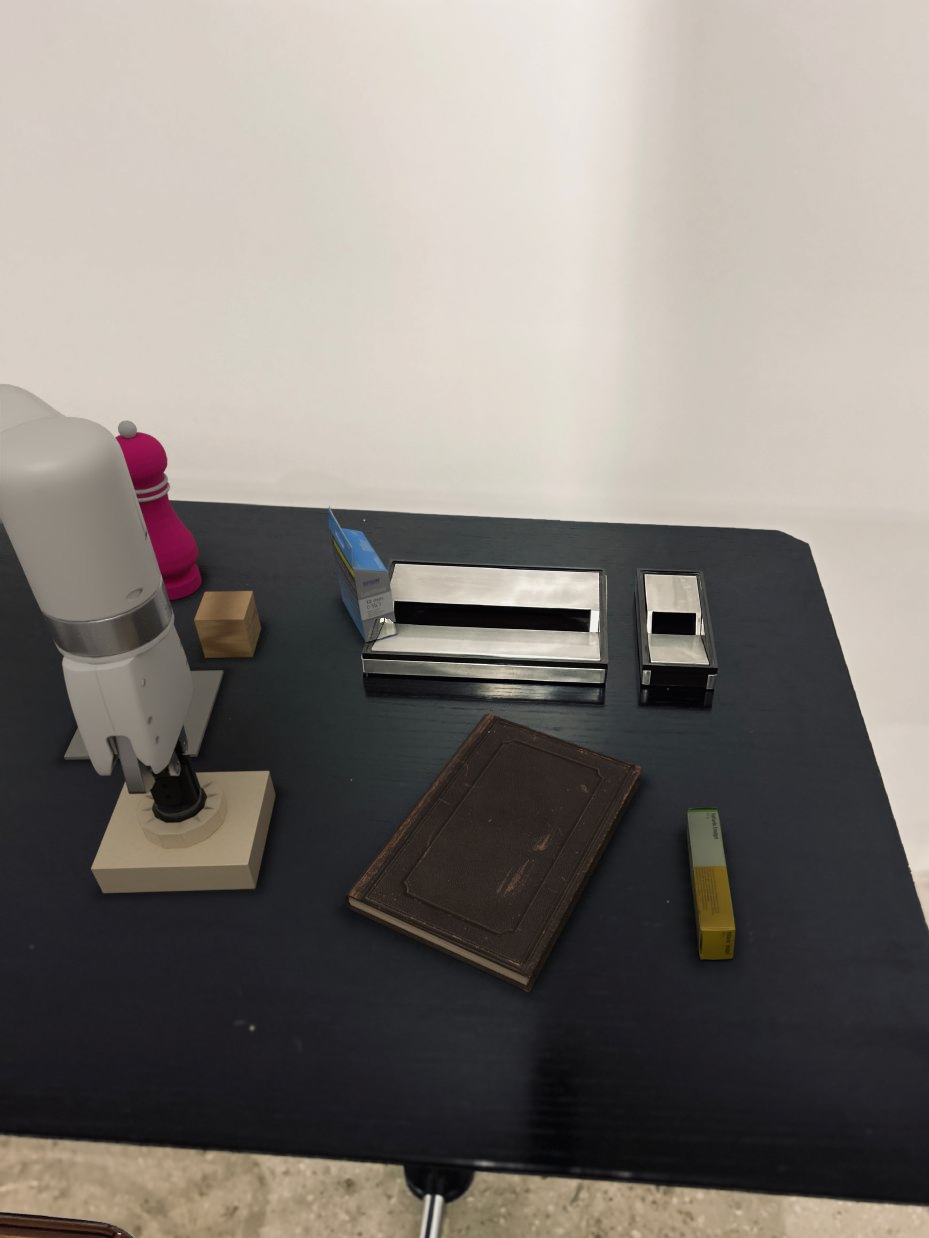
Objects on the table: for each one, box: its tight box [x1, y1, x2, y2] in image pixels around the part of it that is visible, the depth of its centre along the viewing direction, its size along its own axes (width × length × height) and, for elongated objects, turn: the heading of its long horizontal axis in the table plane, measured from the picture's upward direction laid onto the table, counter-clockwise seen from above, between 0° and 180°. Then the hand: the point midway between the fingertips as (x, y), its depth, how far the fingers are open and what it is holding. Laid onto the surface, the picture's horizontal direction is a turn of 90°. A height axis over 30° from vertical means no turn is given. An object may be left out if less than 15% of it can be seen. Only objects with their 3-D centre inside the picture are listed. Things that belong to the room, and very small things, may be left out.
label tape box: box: [328, 505, 396, 643], centre depth 93 cm, size 9×4×12 cm, turn 25°
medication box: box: [686, 806, 736, 961], centre depth 69 cm, size 12×3×4 cm, turn 177°
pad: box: [63, 669, 225, 761], centre depth 85 cm, size 12×12×1 cm
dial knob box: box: [90, 770, 277, 894], centre depth 72 cm, size 12×10×5 cm
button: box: [154, 789, 205, 823], centre depth 70 cm, size 4×4×2 cm
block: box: [193, 590, 262, 659], centre depth 92 cm, size 5×5×5 cm
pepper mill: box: [114, 420, 202, 601], centre depth 95 cm, size 7×7×20 cm
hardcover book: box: [344, 713, 643, 994], centre depth 73 cm, size 16×23×2 cm
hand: (178, 797), depth 70 cm, fingers closed
